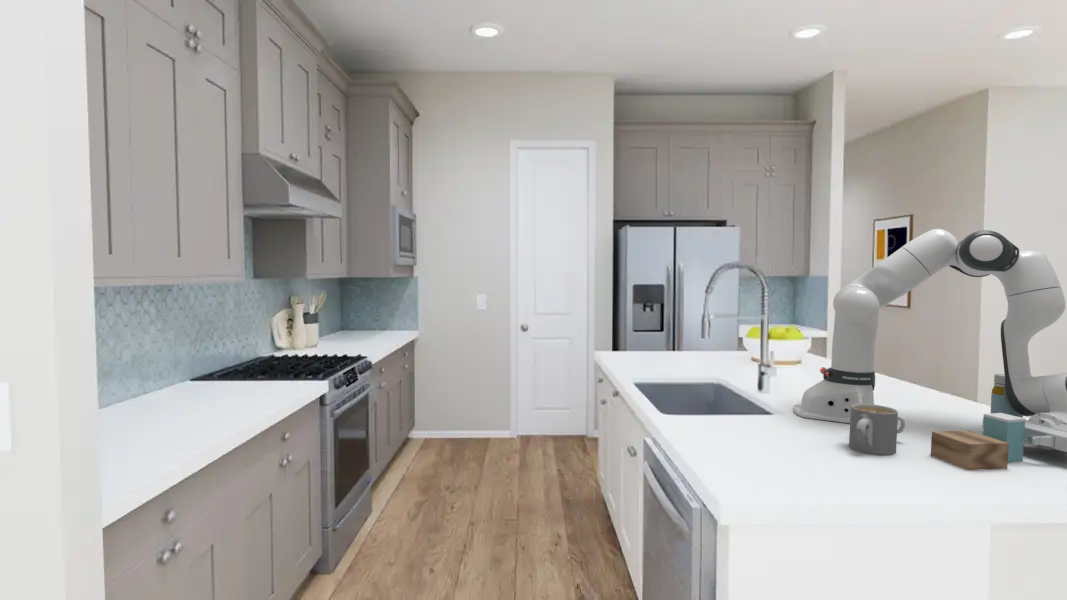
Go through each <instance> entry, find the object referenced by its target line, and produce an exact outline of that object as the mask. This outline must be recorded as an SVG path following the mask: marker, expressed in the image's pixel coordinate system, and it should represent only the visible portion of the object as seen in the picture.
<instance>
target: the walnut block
mask: <svg viewBox="0 0 1067 600" xmlns="http://www.w3.org/2000/svg"><path fill="white" fill-rule="evenodd" d="M1008 450H1009V443H1007V442H1004V441H1001V440H997V439H994V438H991V437H988V436H985V435H983V433H982V434H981V433H978V432H976V431H973V430H972V431H971V430H942V431H941V430H939V431H938V430H936V431H935V430H933V431H931V441H930V456H931V455H932V457H933V456H935V457H934V458H936V457H937V458H936V459H938V458H939V459H938V460H941V459H942V461H943V460H944V462H946V461H947V462H946V463H948V462H949V464H951V463H952V464H951V465H953V464H954V466H956V465H957V466H956V467H958V466H959V468H961V467H962V468H961V469H963V468H964V470H966V469H967V470H966V471H979V469H986V470H1007V469H1008V465H1009V464H1008V463H1009V462H1008ZM977 469H978V470H977Z"/></svg>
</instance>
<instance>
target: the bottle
mask: <svg viewBox="0 0 1067 600" xmlns="http://www.w3.org/2000/svg"><path fill="white" fill-rule="evenodd" d="M993 385H994V386H993V388H992V390H991V395H990V396H991V397H990V398H991V399H990V413H1004V414H1008V415H1013V416H1017V417H1021V418H1024V416H1023V415H1021V414H1019V413H1017V412H1016V411H1014V410H1013V409H1012V408H1011V407H1010V406H1009V405H1008V404H1007V403H1006V401H1005V398H1004V386H1005V373H995V374H994V376H993Z"/></svg>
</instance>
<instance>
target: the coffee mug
mask: <svg viewBox="0 0 1067 600" xmlns="http://www.w3.org/2000/svg"><path fill="white" fill-rule="evenodd" d="M898 416H899V412H898V410H897V409H895V408H893V407H891V406H890V407H889V406H885V405H879V404H874V405H873V404H854V405H851V415H850V423H849V436H848V437H849V438H848V439H849V440H848V441H849V442H848V446H849V448H851V449H852V450H854V451H857V452H861V453H864V454H869V455H875V456H892V455H895V454H896V453H897V441H898V439H897V437H898V434H897V430H898V421H899V420H898Z"/></svg>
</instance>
